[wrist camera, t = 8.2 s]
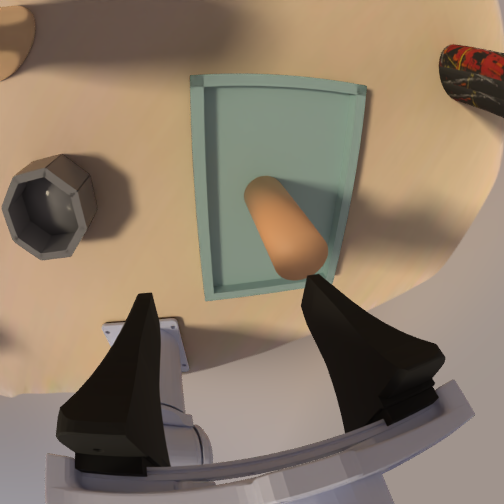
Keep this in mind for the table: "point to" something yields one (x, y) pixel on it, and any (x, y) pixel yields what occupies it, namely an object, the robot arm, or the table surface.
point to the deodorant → (474, 77)
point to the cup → (49, 207)
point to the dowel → (285, 229)
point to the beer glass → (15, 38)
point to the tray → (269, 168)
